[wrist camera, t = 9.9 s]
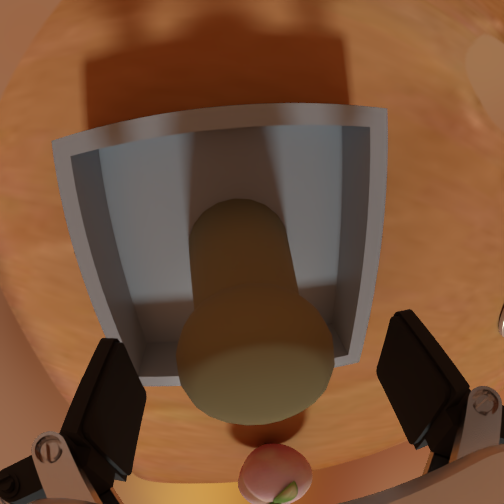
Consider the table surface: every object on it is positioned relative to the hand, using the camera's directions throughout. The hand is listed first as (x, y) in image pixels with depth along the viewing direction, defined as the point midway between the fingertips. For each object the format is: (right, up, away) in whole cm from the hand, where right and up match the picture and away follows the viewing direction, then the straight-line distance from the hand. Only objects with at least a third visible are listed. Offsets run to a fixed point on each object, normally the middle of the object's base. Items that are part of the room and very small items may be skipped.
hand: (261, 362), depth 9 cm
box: (-2, +4, +9) cm, 10 cm away
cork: (-1, +4, +8) cm, 9 cm away
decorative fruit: (+2, -20, +21) cm, 29 cm away
